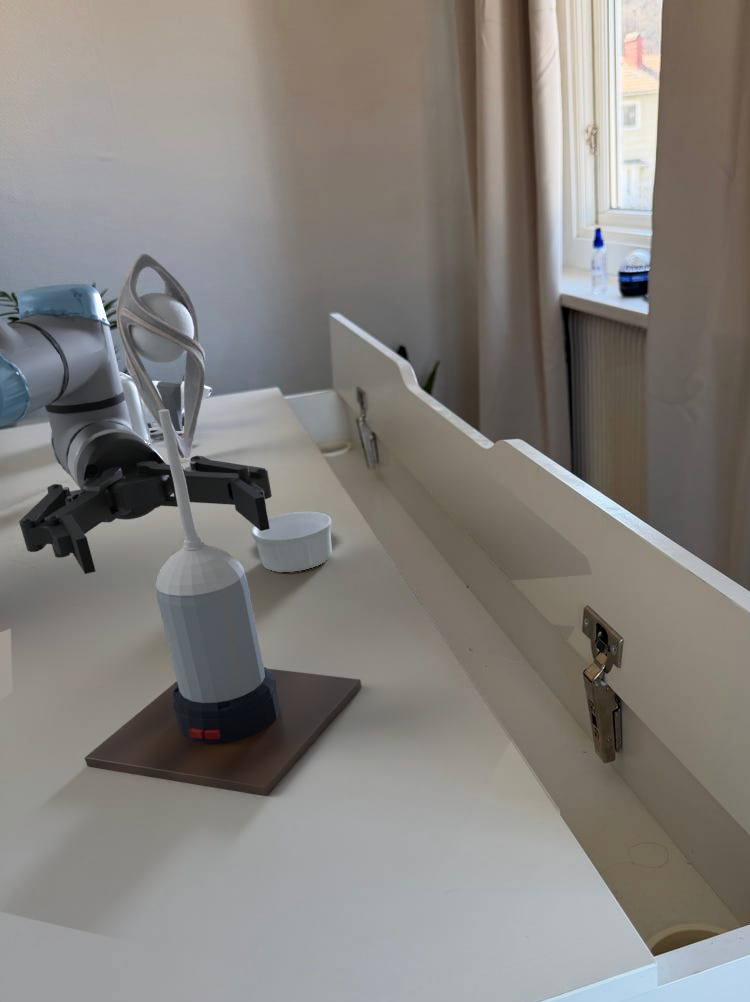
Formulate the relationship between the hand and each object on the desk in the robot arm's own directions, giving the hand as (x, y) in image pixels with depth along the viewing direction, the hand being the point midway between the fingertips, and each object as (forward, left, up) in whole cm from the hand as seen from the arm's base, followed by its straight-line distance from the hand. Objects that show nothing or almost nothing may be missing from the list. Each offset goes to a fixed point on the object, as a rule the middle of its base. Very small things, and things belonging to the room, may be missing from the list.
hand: (177, 534), depth 75 cm
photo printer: (-64, +71, -16) cm, 97 cm away
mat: (+2, -2, -16) cm, 16 cm away
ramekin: (-10, +31, -16) cm, 36 cm away
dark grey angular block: (-61, +80, -16) cm, 102 cm away
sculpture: (-48, +65, -16) cm, 82 cm away
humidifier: (+3, -2, -15) cm, 15 cm away
